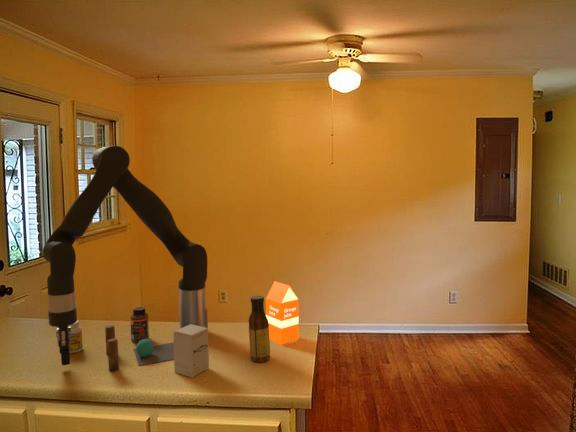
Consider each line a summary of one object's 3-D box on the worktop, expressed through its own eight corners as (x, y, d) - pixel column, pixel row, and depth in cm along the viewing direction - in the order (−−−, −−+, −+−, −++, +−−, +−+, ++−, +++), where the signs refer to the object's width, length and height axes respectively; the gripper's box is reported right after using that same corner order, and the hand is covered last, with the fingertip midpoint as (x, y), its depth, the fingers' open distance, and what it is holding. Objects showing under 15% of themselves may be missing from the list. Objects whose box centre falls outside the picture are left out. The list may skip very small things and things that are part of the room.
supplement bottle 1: (81, 345, 155) (79, 318, 154) (84, 350, 151) (82, 322, 150) (63, 349, 152) (62, 321, 151) (66, 354, 148) (64, 325, 147)
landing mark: (176, 342, 157) (176, 341, 157) (185, 357, 145) (184, 357, 145) (133, 349, 152) (133, 348, 152) (138, 365, 139) (138, 365, 139)
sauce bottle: (273, 356, 145) (272, 295, 143) (265, 364, 139) (264, 300, 137) (254, 353, 147) (253, 293, 145) (246, 361, 142) (244, 298, 139)
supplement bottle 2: (132, 344, 156) (130, 311, 155) (130, 338, 162) (128, 307, 160) (150, 341, 159) (148, 309, 157) (147, 335, 164) (146, 304, 163)
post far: (115, 351, 150) (114, 324, 149) (116, 354, 148) (114, 327, 147) (106, 352, 149) (104, 326, 148) (106, 356, 146) (105, 328, 146)
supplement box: (192, 378, 131) (191, 335, 129) (173, 372, 135) (172, 330, 133) (210, 368, 137) (208, 327, 136) (191, 363, 141) (190, 323, 139)
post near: (118, 366, 138) (117, 338, 138) (119, 370, 136) (117, 341, 135) (108, 368, 137) (107, 339, 136) (109, 372, 135) (107, 342, 134)
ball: (131, 343, 147) (141, 356, 148) (133, 350, 141) (142, 363, 143) (147, 333, 148) (156, 346, 150) (149, 339, 143) (158, 353, 145)
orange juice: (281, 346, 154) (280, 287, 152) (265, 338, 161) (265, 282, 158) (299, 340, 159) (298, 283, 156) (283, 333, 165) (282, 279, 163)
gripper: (76, 312, 131) (79, 370, 133) (76, 300, 143) (79, 353, 145) (46, 316, 128) (50, 375, 129) (49, 303, 140) (52, 358, 141)
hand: (65, 363), depth 137 cm, fingers closed
